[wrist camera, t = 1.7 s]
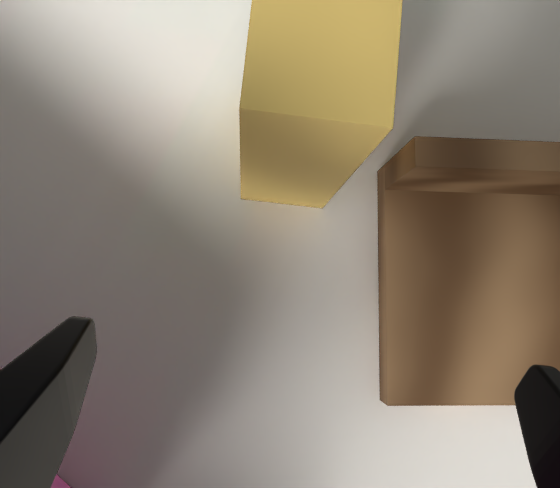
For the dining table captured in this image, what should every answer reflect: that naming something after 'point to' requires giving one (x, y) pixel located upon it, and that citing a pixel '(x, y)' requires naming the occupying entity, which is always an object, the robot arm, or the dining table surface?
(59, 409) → the robot arm
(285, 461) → the dining table surface
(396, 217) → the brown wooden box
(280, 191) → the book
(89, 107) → the dining table surface
